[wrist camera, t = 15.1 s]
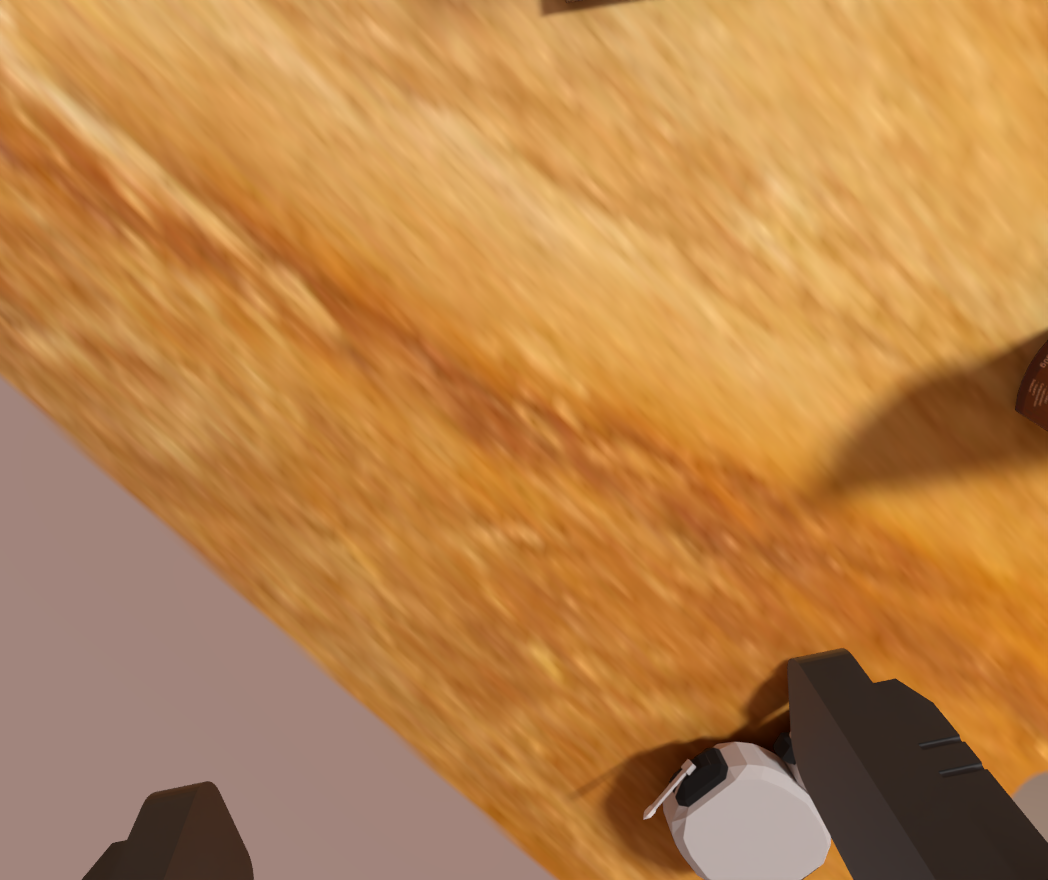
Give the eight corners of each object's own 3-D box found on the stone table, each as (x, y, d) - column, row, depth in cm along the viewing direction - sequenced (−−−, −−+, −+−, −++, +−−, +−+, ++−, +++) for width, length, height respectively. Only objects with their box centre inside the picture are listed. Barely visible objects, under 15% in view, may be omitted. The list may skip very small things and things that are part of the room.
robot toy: (813, 621, 45) (619, 773, 47) (854, 668, 41) (638, 833, 43) (916, 737, 49) (732, 873, 51) (962, 791, 45) (760, 937, 47)
